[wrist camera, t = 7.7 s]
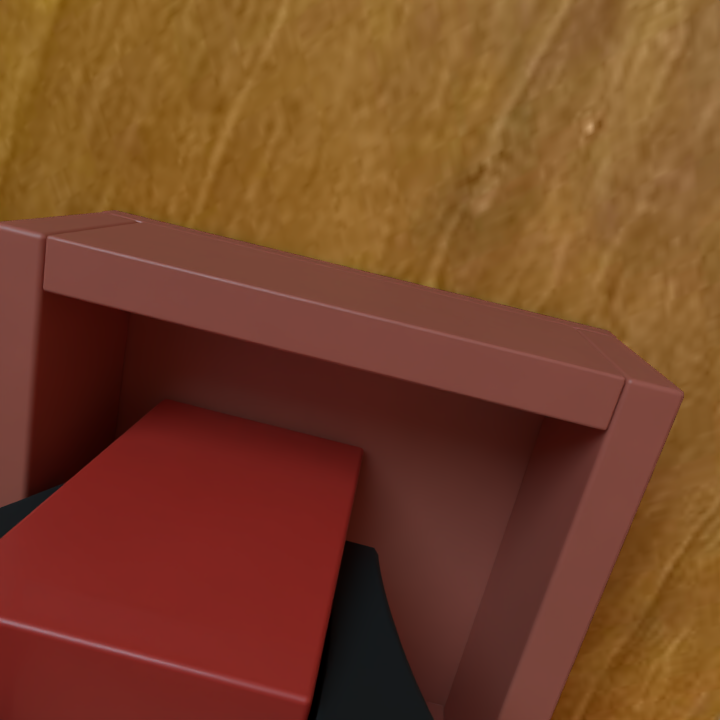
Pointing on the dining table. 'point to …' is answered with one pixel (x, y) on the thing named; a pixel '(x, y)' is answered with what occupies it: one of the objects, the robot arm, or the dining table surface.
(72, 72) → the dining table surface
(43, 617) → the red block
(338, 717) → the robot arm
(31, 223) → the red bin
